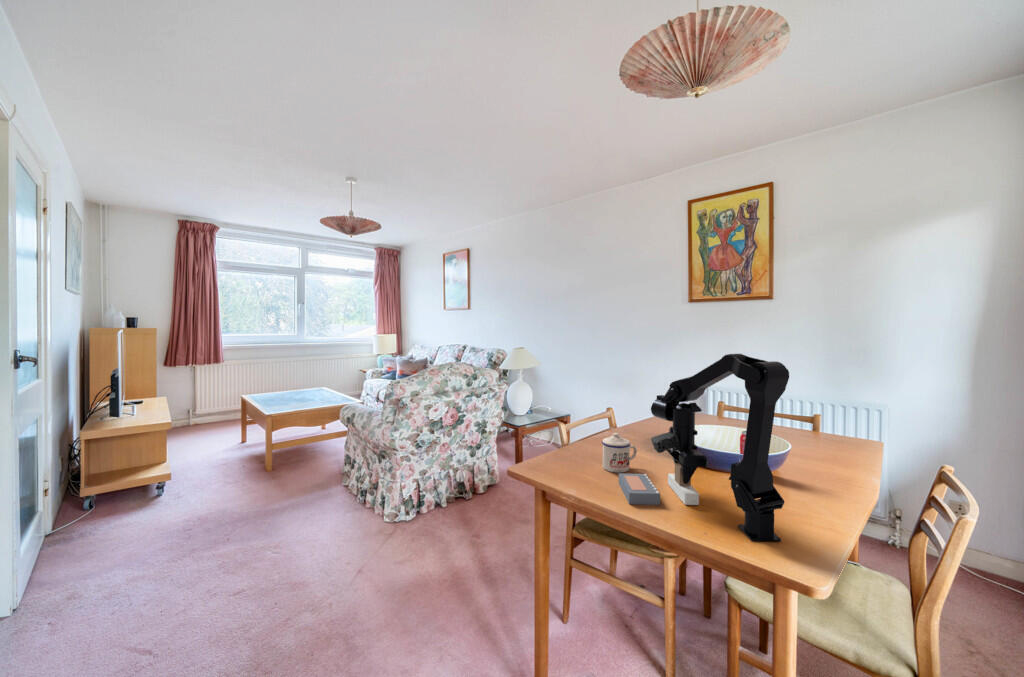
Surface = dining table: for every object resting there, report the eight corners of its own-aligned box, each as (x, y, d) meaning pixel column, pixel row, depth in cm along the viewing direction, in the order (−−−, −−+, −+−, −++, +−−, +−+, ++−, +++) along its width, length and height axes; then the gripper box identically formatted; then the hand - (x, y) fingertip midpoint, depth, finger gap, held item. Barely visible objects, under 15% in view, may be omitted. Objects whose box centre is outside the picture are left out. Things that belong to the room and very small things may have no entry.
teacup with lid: (609, 474, 129) (609, 438, 129) (597, 464, 138) (597, 430, 138) (643, 471, 132) (643, 435, 132) (629, 461, 141) (629, 428, 140)
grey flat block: (659, 504, 108) (659, 493, 108) (629, 504, 108) (629, 492, 108) (645, 483, 122) (645, 473, 122) (618, 483, 122) (618, 473, 122)
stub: (698, 504, 107) (699, 475, 107) (684, 504, 108) (685, 474, 107) (680, 483, 121) (680, 457, 121) (667, 483, 122) (668, 457, 121)
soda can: (769, 478, 126) (770, 436, 125) (743, 476, 127) (744, 435, 126) (760, 470, 132) (761, 430, 132) (736, 468, 134) (736, 429, 133)
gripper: (645, 417, 123) (644, 467, 124) (664, 434, 105) (664, 493, 105) (682, 417, 123) (681, 468, 123) (709, 434, 104) (708, 494, 105)
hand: (682, 480), depth 114 cm, fingers closed on stub, 4 cm apart
